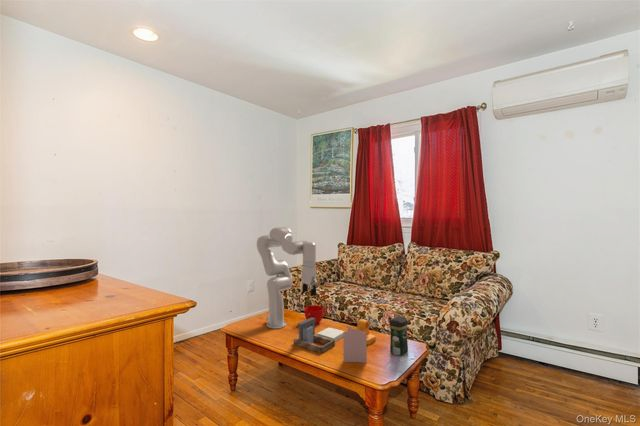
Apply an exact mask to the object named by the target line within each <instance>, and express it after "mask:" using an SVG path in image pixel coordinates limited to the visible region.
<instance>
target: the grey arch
mask: <svg viewBox="0 0 640 426" xmlns="http://www.w3.org/2000/svg"><path fill="white" fill-rule="evenodd" d="M315 322H316V318H312V317H311V318H309V319H307V320H306V319H304V320H302V321H300V322H298V323H297V327H298V339H299V340H300V341H302V340H303V327H306V326H308V325H309V326H312V327H313V335H314V334H315V333H316V332H315V331H316V330H315V328H316V327H315V326H316V325H315ZM315 335H316V334H315Z"/></svg>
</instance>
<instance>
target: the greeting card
mask: <svg viewBox="0 0 640 426" xmlns="http://www.w3.org/2000/svg"><path fill="white" fill-rule="evenodd" d="M342 339H343V342H342V343H343V345H342V346H343V347H342V348H343V350H342V351H343V353H342V354H343V363H344V362H345V363H368V361H367V359H368V355H367V354H368V353H367V349H368V348H367V346H368V345H367V341H366V332H363V331H360V330H357V328H352V327H349V326H347V331H345V332H343V337H342Z"/></svg>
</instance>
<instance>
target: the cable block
mask: <svg viewBox="0 0 640 426" xmlns="http://www.w3.org/2000/svg"><path fill="white" fill-rule="evenodd" d="M303 341H306V342H309V343H312V344H314V341H313V327H312V326H311V325H308V326H306V327H303Z"/></svg>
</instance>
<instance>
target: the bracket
mask: <svg viewBox="0 0 640 426" xmlns="http://www.w3.org/2000/svg"><path fill="white" fill-rule="evenodd" d="M370 326H371V323H370V321H369V320H366V319H362V318H361V319H359V320H358V321H357V325H356V329H357V330H360V331H363V332H366V341H367V346H369V345H370V344H373V343H374V342H375V341H376V339H377V335H375V334H373V333H370V330H369V329H370Z"/></svg>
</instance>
